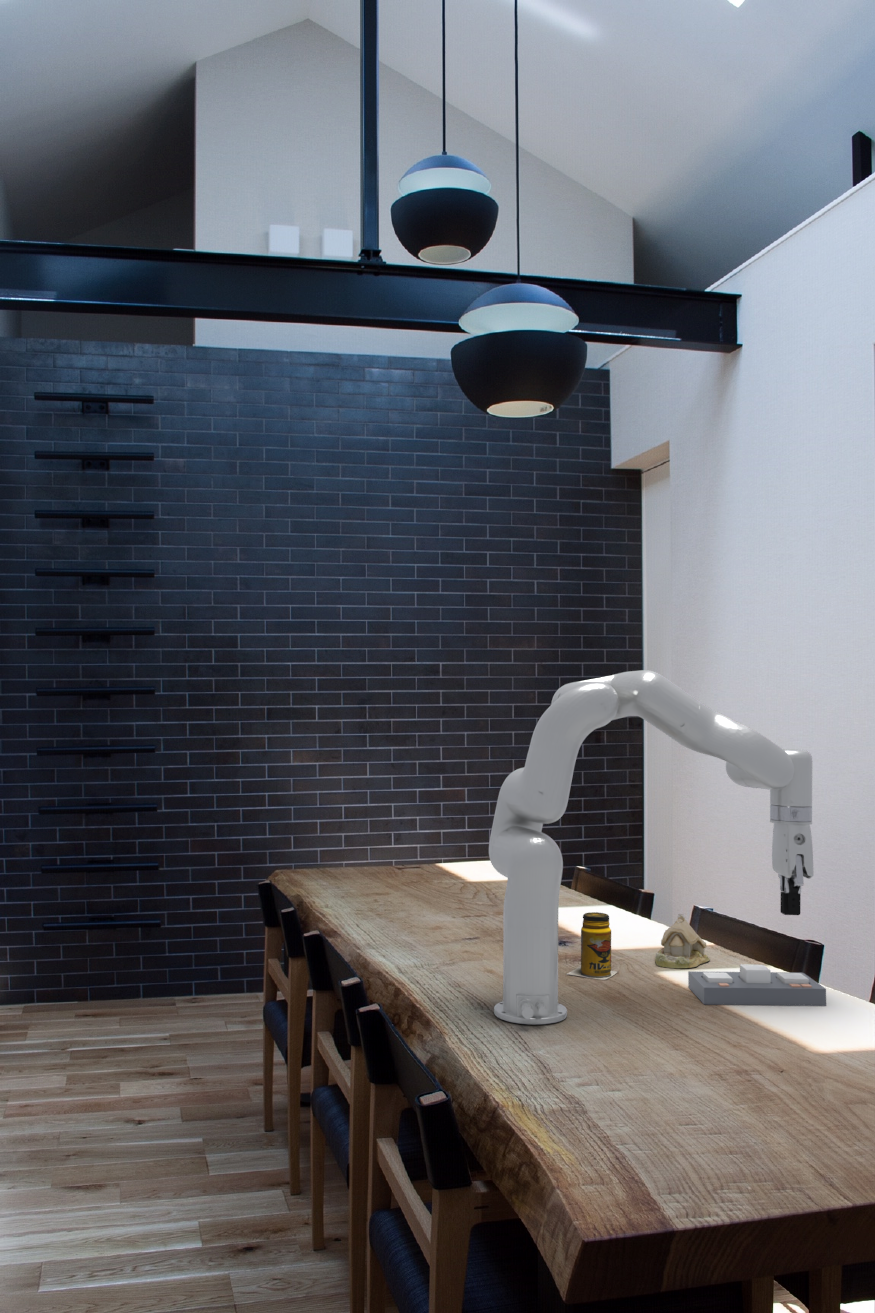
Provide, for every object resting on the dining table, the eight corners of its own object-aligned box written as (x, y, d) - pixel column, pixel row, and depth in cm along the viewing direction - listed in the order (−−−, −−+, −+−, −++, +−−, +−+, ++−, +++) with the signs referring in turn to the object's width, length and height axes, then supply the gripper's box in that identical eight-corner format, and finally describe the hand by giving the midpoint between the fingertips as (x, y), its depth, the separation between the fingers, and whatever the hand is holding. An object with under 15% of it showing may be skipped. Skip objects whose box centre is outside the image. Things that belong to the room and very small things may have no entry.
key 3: (732, 997, 194) (732, 978, 194) (708, 997, 194) (708, 978, 194) (726, 991, 198) (726, 972, 198) (702, 991, 198) (702, 972, 198)
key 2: (770, 989, 194) (770, 970, 194) (746, 989, 194) (746, 970, 194) (763, 983, 198) (763, 964, 199) (739, 983, 198) (739, 964, 199)
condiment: (605, 980, 207) (605, 918, 208) (565, 975, 211) (565, 914, 212) (618, 973, 213) (618, 913, 214) (579, 967, 217) (579, 908, 218)
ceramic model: (661, 953, 232) (660, 907, 233) (713, 958, 228) (712, 911, 228) (647, 967, 219) (647, 918, 220) (702, 972, 215) (702, 922, 215)
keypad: (826, 1005, 190) (825, 987, 190) (704, 1004, 190) (704, 986, 190) (803, 988, 202) (803, 971, 202) (688, 987, 202) (688, 970, 202)
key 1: (808, 998, 194) (808, 979, 194) (784, 998, 194) (784, 978, 194) (800, 992, 198) (800, 973, 198) (777, 992, 198) (777, 973, 198)
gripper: (825, 819, 190) (825, 922, 189) (797, 812, 205) (796, 907, 204) (783, 818, 190) (783, 921, 189) (758, 811, 205) (758, 906, 204)
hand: (790, 914), depth 197 cm, fingers closed
